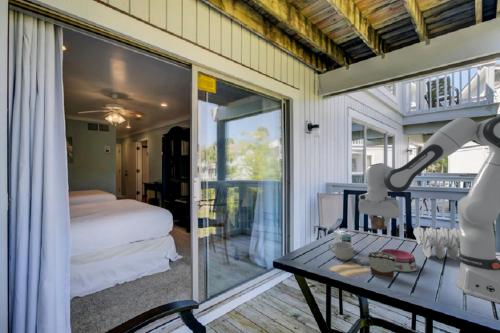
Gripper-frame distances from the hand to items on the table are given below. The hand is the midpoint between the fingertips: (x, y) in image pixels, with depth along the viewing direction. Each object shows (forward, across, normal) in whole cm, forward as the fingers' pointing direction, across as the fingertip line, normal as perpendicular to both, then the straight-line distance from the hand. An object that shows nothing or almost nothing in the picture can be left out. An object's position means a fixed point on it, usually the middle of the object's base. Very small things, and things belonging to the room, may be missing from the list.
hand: (379, 225), depth 120 cm
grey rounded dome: (+24, +15, -6) cm, 28 cm away
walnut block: (+2, 0, 0) cm, 2 cm away
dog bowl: (+24, +4, -17) cm, 30 cm away
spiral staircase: (+25, -2, -50) cm, 56 cm away
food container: (+24, 0, 0) cm, 24 cm away
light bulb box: (+23, +37, -13) cm, 45 cm away
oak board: (+23, +12, +9) cm, 28 cm away
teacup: (+23, +26, 0) cm, 35 cm away
